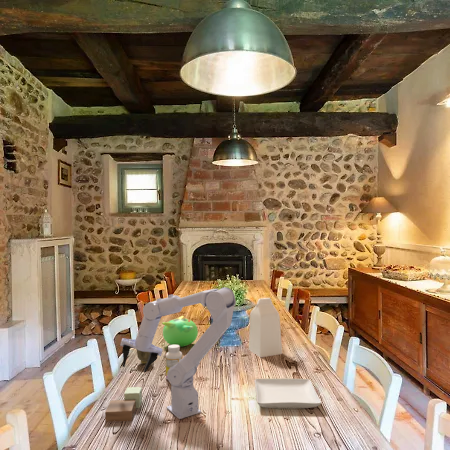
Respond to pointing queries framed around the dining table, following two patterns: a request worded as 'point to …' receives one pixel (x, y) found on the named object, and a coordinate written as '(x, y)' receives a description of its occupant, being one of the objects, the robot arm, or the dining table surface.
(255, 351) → the milk
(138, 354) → the cup
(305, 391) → the salad plate
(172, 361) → the supplement bottle
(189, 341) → the green rounded piece
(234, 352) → the dining table surface
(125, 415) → the walnut block
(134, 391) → the green cube
